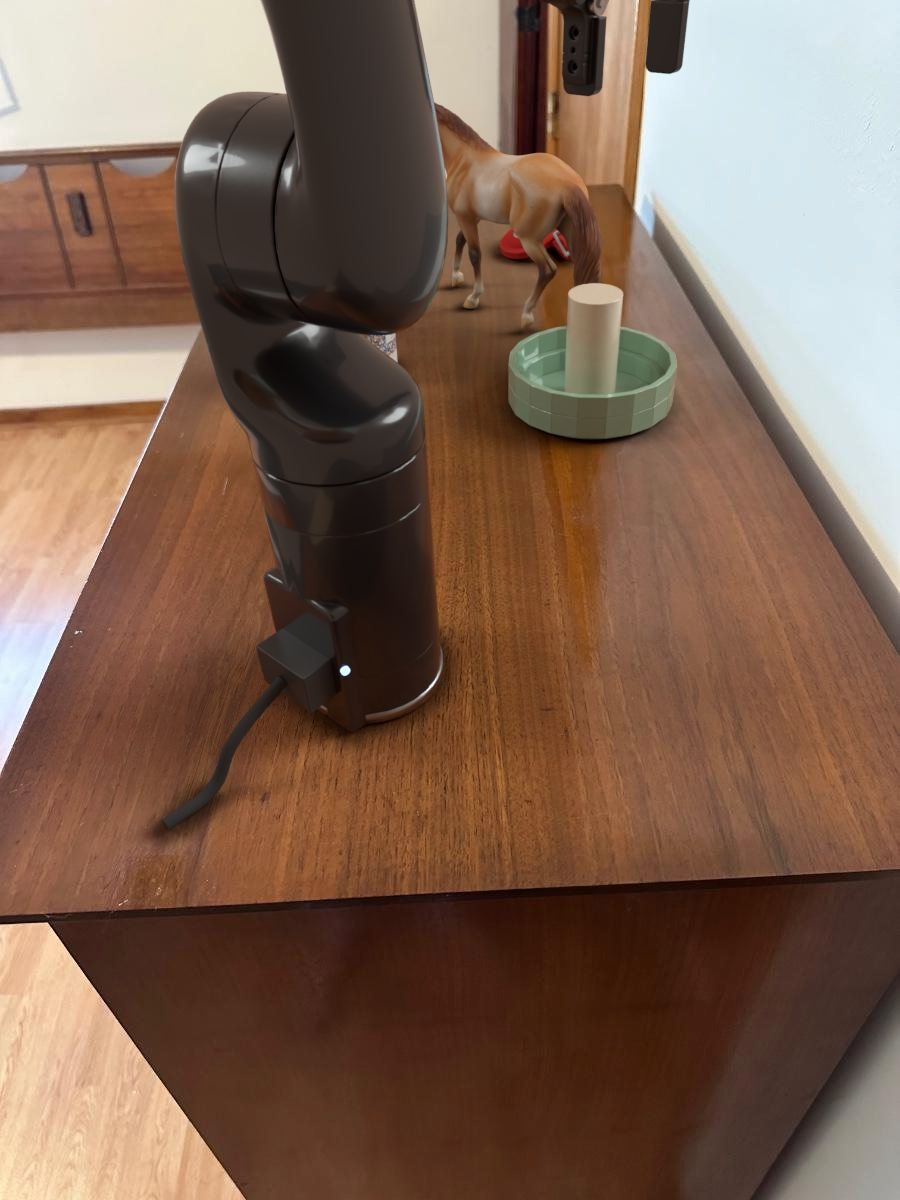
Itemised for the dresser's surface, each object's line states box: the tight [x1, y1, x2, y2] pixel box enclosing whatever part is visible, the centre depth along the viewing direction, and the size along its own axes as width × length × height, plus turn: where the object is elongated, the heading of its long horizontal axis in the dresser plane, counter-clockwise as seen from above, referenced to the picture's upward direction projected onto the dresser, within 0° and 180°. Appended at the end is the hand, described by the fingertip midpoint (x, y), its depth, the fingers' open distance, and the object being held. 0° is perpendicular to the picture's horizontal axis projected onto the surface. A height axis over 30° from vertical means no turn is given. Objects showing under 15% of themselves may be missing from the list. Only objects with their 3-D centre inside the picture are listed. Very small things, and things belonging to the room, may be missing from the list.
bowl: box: [507, 325, 678, 440], centre depth 83 cm, size 15×15×4 cm
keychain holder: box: [499, 227, 572, 261], centre depth 114 cm, size 12×4×10 cm
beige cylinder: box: [564, 283, 624, 395], centre depth 81 cm, size 5×5×10 cm
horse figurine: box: [434, 101, 603, 331], centre depth 94 cm, size 31×8×21 cm, turn 39°
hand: (624, 82), depth 53 cm, fingers open, 8 cm apart
